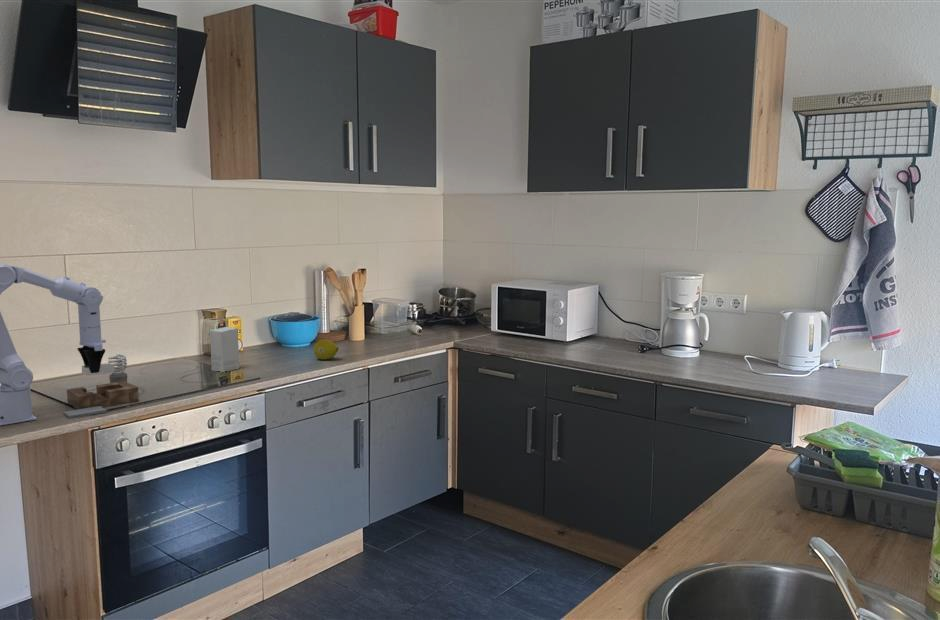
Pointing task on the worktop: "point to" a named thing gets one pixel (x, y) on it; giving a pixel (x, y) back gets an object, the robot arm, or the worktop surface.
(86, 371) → the aluminium tile
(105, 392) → the pocket board
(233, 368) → the skincare box
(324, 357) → the lemon
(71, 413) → the slate mat
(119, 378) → the light bulb
